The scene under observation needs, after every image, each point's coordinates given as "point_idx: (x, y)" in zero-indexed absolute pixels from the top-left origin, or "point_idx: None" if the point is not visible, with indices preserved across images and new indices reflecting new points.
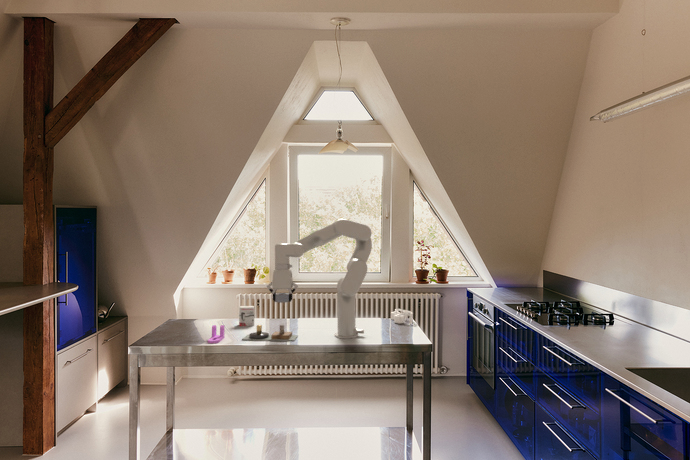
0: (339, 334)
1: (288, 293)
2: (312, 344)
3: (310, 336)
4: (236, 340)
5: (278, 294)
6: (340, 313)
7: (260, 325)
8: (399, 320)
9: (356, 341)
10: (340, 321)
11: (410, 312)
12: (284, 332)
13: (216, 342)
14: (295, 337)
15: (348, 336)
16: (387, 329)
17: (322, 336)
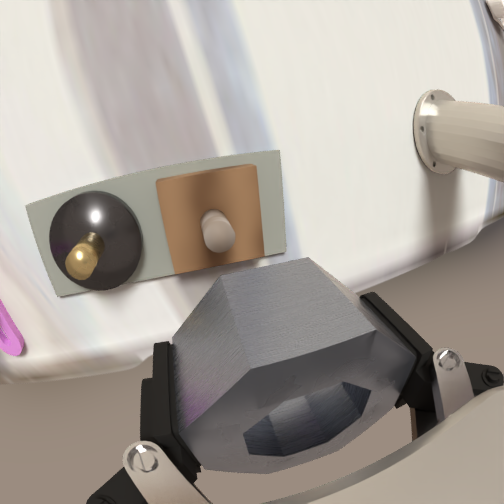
0: (433, 153)
1: (399, 365)
2: (355, 277)
3: (333, 139)
4: (44, 300)
5: (265, 467)
6: (501, 176)
7: (86, 265)
8: (502, 17)
9: (455, 203)
10: (475, 168)
11: None
12: (218, 192)
13: (23, 346)
14: (279, 201)
15: (449, 169)
16: (488, 50)
17: (377, 135)
